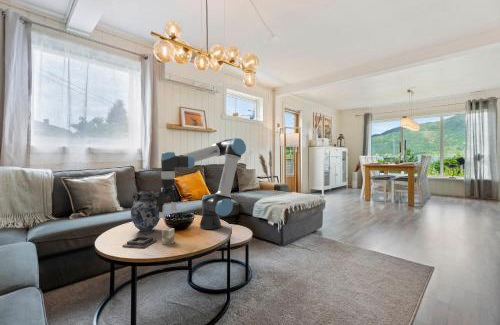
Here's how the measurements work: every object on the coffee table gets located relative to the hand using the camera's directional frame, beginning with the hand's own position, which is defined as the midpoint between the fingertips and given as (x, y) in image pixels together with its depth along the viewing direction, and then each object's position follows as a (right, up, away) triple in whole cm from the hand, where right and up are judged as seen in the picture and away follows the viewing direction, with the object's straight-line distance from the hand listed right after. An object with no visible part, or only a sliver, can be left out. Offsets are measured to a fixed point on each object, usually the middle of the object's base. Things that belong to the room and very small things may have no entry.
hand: (167, 215), depth 139 cm
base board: (-15, -16, -1) cm, 22 cm away
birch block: (0, -16, 0) cm, 16 cm away
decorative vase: (-21, -17, +21) cm, 34 cm away
